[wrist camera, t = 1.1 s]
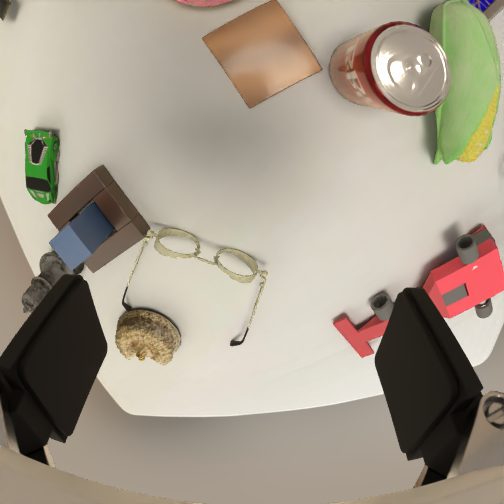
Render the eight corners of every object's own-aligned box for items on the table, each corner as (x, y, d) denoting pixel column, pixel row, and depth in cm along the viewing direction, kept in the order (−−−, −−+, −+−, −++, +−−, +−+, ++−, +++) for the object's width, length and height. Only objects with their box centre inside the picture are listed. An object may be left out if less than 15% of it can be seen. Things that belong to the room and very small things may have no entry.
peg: (81, 213, 35) (48, 243, 28) (101, 196, 34) (68, 224, 27) (100, 237, 37) (71, 271, 30) (120, 221, 36) (92, 254, 29)
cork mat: (202, 39, 26) (201, 38, 25) (274, 0, 23) (275, -2, 23) (249, 108, 29) (249, 108, 29) (321, 70, 27) (322, 69, 27)
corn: (500, 11, 17) (501, 177, 27) (440, 7, 23) (445, 159, 33) (482, -13, 13) (485, 192, 23) (409, -12, 19) (417, 170, 29)
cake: (110, 305, 42) (96, 328, 37) (174, 307, 42) (165, 333, 37) (128, 353, 47) (118, 377, 42) (186, 357, 46) (180, 383, 42)
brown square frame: (57, 207, 35) (47, 215, 33) (103, 164, 32) (93, 170, 30) (100, 263, 39) (93, 273, 36) (150, 228, 36) (144, 237, 34)
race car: (366, 340, 50) (497, 277, 38) (368, 368, 45) (511, 304, 33) (325, 288, 45) (478, 207, 33) (324, 318, 40) (498, 232, 28)
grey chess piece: (58, 232, 36) (7, 281, 26) (91, 255, 38) (47, 312, 28) (48, 261, 39) (3, 312, 28) (79, 283, 40) (40, 339, 30)
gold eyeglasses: (278, 264, 38) (281, 288, 34) (235, 345, 45) (233, 371, 41) (144, 216, 35) (129, 235, 31) (124, 308, 42) (113, 331, 38)
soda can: (352, 117, 29) (400, 134, 19) (314, 59, 27) (345, 44, 16) (404, 86, 27) (469, 93, 17) (369, 29, 24) (422, 7, 14)
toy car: (59, 205, 35) (50, 212, 33) (32, 199, 34) (23, 205, 32) (61, 128, 30) (51, 131, 28) (33, 126, 29) (22, 129, 27)
